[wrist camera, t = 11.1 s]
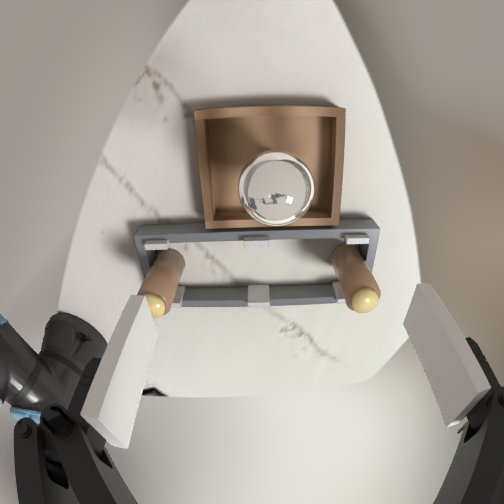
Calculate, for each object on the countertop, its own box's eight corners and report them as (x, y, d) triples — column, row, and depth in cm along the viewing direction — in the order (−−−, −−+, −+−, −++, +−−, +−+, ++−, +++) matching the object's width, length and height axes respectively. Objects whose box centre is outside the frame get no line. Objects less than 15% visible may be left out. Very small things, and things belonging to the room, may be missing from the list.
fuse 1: (159, 274, 43) (139, 320, 34) (152, 249, 40) (129, 293, 32) (187, 273, 43) (172, 322, 34) (182, 248, 40) (164, 294, 32)
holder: (158, 293, 45) (151, 310, 41) (141, 225, 39) (131, 239, 35) (359, 288, 44) (366, 305, 40) (372, 218, 38) (382, 232, 34)
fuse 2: (329, 270, 42) (345, 318, 33) (332, 243, 40) (351, 289, 31) (357, 268, 42) (378, 315, 33) (362, 242, 40) (386, 286, 31)
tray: (209, 218, 38) (206, 228, 35) (198, 109, 31) (193, 111, 28) (333, 214, 37) (338, 225, 35) (338, 106, 30) (345, 108, 28)
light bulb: (242, 133, 32) (237, 157, 21) (303, 138, 32) (328, 164, 22) (239, 190, 35) (233, 238, 25) (297, 194, 35) (314, 243, 25)
